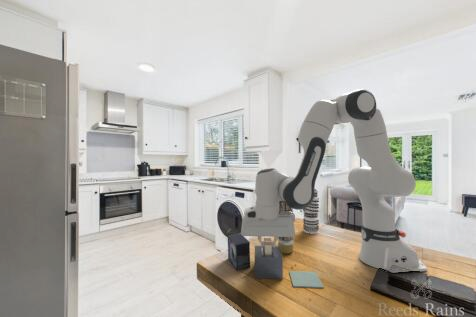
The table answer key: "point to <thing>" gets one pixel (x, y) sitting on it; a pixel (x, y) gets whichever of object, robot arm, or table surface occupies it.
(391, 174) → the robot arm
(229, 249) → the small box
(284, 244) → the paper tube
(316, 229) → the black white cylinder
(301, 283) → the mat
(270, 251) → the white block
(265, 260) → the dispenser
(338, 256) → the table surface
